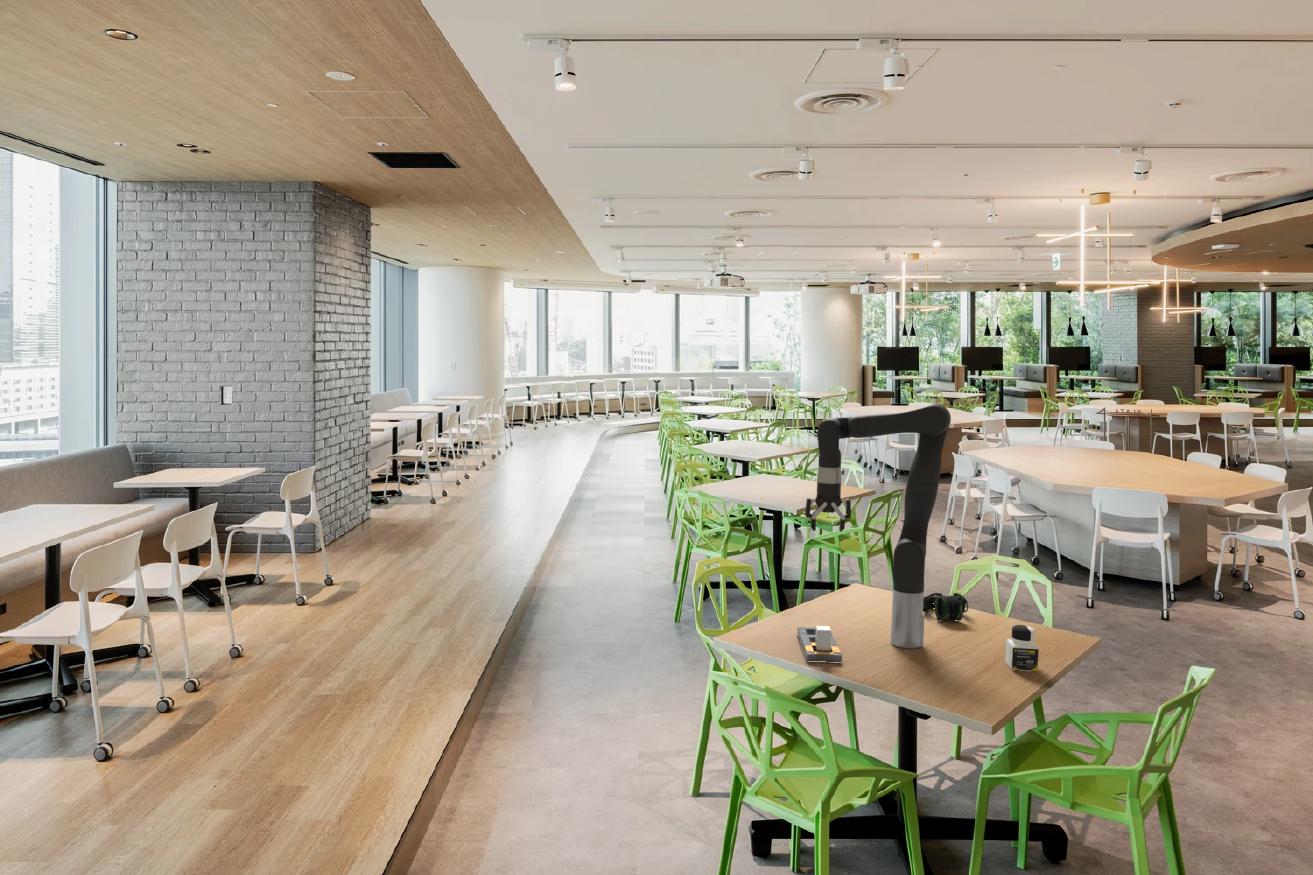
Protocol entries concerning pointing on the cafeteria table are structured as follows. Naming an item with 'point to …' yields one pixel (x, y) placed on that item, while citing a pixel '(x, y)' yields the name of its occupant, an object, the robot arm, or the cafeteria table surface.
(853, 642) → the cafeteria table surface
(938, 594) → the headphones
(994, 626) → the cafeteria table surface
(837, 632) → the cafeteria table surface
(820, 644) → the steel block
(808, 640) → the slotted rack
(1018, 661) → the medicine bottle
